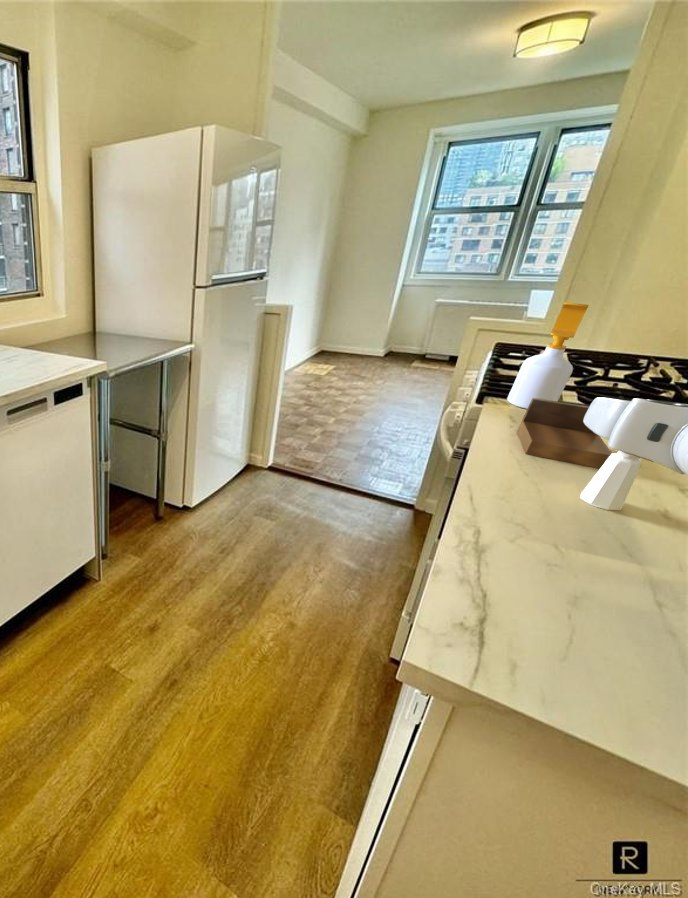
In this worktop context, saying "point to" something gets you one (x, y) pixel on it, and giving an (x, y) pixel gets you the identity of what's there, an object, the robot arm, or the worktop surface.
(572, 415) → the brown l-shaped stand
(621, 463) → the pepper shaker
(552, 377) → the soap bottle
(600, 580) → the worktop surface
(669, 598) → the worktop surface
